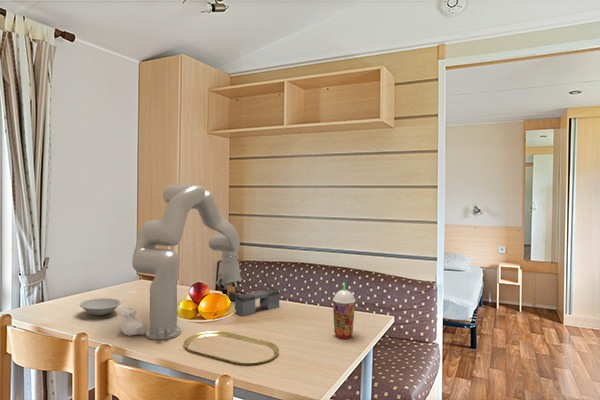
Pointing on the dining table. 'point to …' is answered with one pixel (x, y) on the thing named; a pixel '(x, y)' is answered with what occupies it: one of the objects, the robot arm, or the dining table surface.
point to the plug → (231, 292)
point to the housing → (247, 301)
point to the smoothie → (343, 313)
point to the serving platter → (234, 336)
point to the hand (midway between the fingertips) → (229, 295)
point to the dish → (100, 305)
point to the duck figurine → (131, 323)
